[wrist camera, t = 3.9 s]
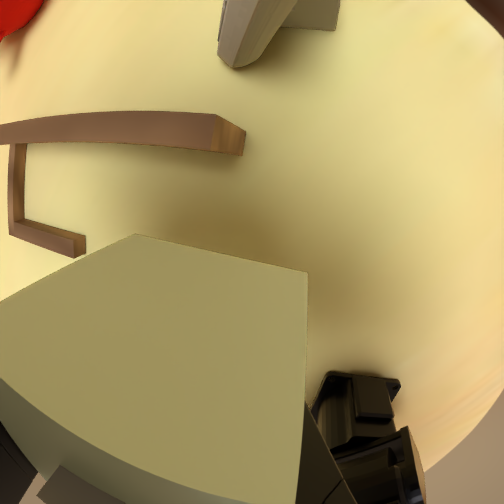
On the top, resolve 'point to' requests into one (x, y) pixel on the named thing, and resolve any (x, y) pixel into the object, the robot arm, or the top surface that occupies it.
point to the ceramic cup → (16, 14)
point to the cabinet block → (158, 377)
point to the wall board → (104, 131)
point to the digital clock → (267, 24)
